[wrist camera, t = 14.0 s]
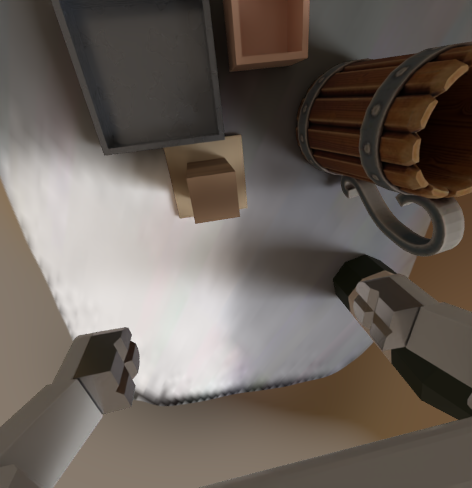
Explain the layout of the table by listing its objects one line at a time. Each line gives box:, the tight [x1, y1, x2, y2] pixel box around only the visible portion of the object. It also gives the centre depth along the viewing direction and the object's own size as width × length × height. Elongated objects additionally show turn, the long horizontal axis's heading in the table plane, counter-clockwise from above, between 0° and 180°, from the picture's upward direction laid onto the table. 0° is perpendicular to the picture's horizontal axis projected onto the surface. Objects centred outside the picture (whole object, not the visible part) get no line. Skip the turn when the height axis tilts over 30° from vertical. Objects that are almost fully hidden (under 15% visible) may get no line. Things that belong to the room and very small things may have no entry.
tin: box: [51, 0, 225, 155], centre depth 21 cm, size 11×11×3 cm
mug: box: [296, 42, 472, 256], centre depth 22 cm, size 16×11×15 cm
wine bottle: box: [333, 255, 472, 420], centre depth 26 cm, size 8×8×30 cm
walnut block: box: [186, 158, 240, 224], centre depth 24 cm, size 4×4×7 cm
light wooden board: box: [164, 135, 247, 218], centre depth 27 cm, size 8×8×1 cm
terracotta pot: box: [223, 0, 310, 72], centre depth 20 cm, size 6×6×4 cm
